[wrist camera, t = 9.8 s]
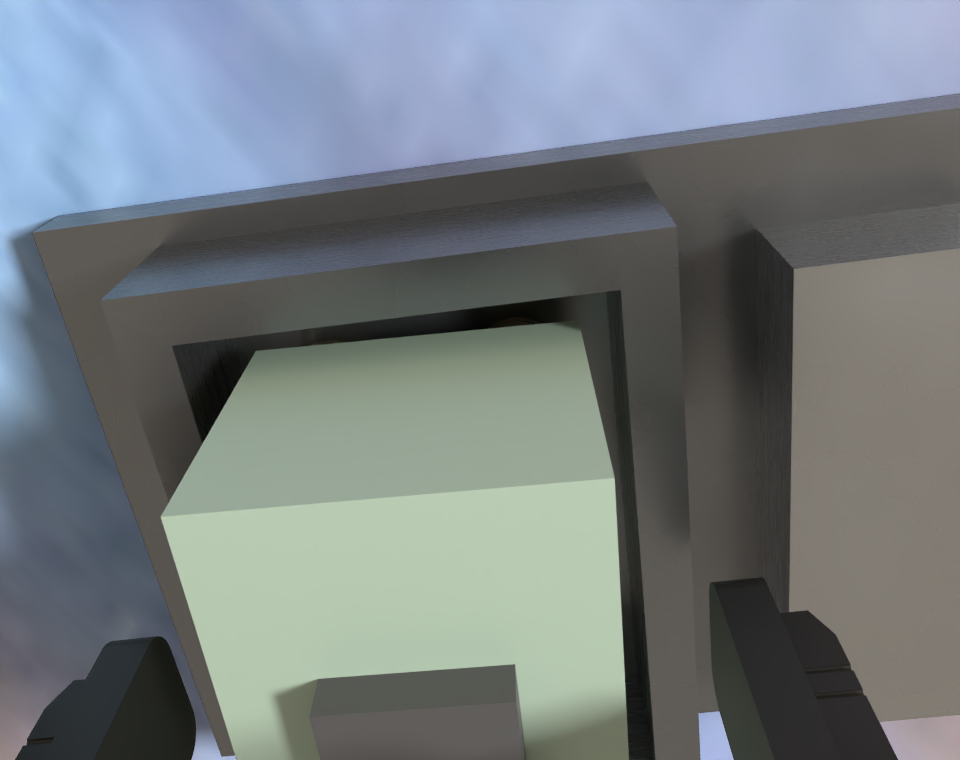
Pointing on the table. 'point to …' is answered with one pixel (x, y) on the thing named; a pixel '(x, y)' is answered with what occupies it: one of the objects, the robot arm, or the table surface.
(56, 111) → the table surface
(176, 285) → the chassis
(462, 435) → the module
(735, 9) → the table surface
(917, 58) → the table surface
